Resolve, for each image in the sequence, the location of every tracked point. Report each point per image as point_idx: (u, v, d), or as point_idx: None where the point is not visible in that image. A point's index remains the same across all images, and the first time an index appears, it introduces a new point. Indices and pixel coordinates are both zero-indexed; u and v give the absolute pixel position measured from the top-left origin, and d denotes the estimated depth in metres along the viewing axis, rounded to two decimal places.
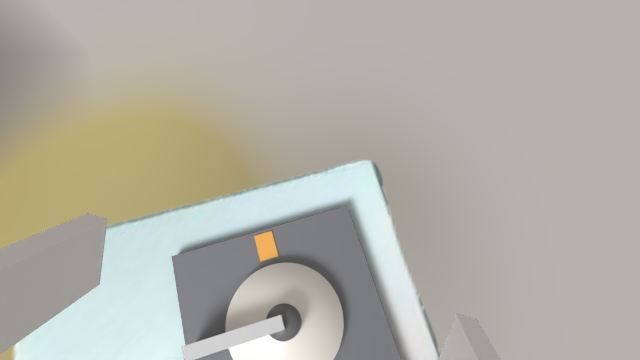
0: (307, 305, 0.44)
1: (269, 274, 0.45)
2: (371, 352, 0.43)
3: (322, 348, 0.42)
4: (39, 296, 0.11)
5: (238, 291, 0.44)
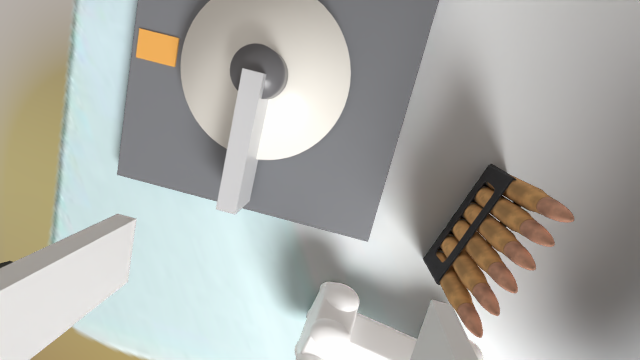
0: (259, 31, 0.28)
1: (193, 60, 0.29)
2: None
3: (322, 42, 0.28)
4: (77, 293, 0.11)
5: (195, 113, 0.30)
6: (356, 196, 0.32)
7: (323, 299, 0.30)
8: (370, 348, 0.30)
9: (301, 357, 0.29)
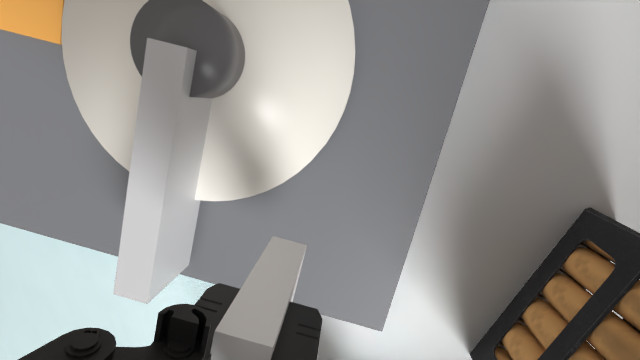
0: None
1: (82, 31, 0.17)
2: None
3: None
4: None
5: (91, 123, 0.18)
6: (364, 259, 0.19)
7: None
8: None
9: None
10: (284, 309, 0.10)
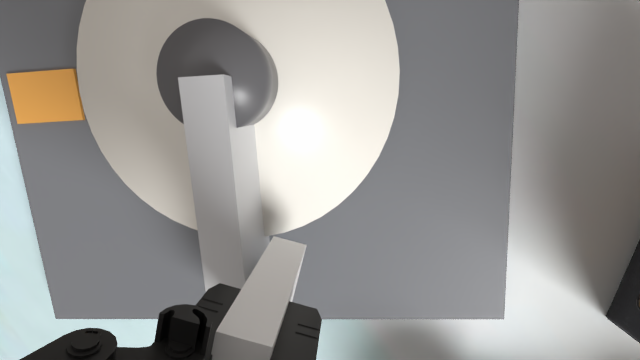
0: (200, 5, 0.15)
1: (103, 97, 0.16)
2: None
3: None
4: None
5: (136, 189, 0.17)
6: (462, 246, 0.17)
7: None
8: None
9: None
10: (283, 309, 0.10)
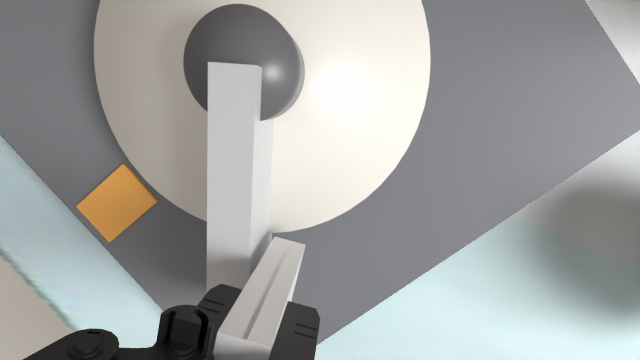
0: None
1: (118, 70, 0.15)
2: None
3: None
4: None
5: (142, 169, 0.16)
6: (566, 74, 0.15)
7: None
8: None
9: None
10: (282, 308, 0.10)
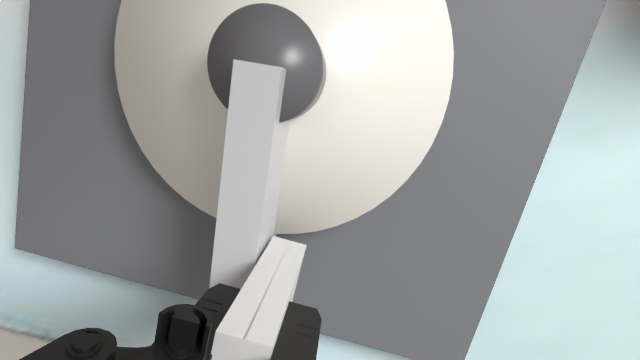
0: None
1: (138, 57, 0.15)
2: None
3: None
4: None
5: (152, 158, 0.16)
6: None
7: None
8: None
9: None
10: (283, 309, 0.10)
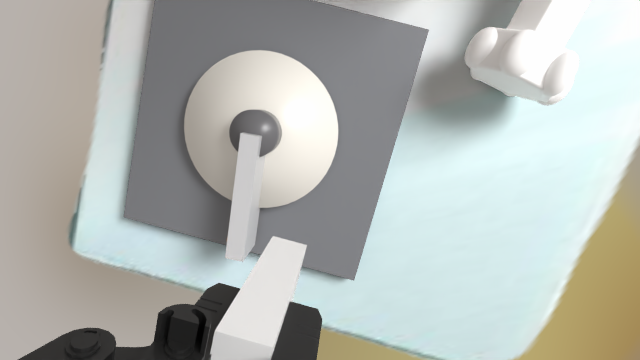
0: (253, 95, 0.32)
1: (195, 124, 0.33)
2: (183, 38, 0.33)
3: (310, 101, 0.31)
4: None
5: (200, 170, 0.33)
6: (378, 43, 0.31)
7: (480, 66, 0.28)
8: (545, 7, 0.26)
9: (547, 88, 0.26)
10: (284, 309, 0.10)
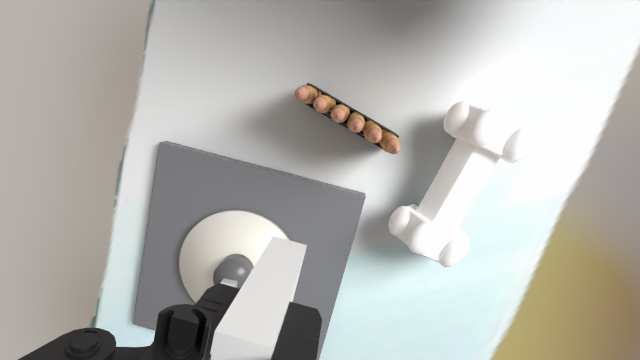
0: (231, 243, 0.41)
1: (188, 262, 0.42)
2: (178, 196, 0.42)
3: None
4: None
5: (192, 296, 0.43)
6: (327, 205, 0.40)
7: (398, 236, 0.37)
8: (441, 203, 0.35)
9: (442, 263, 0.35)
10: (284, 309, 0.10)
